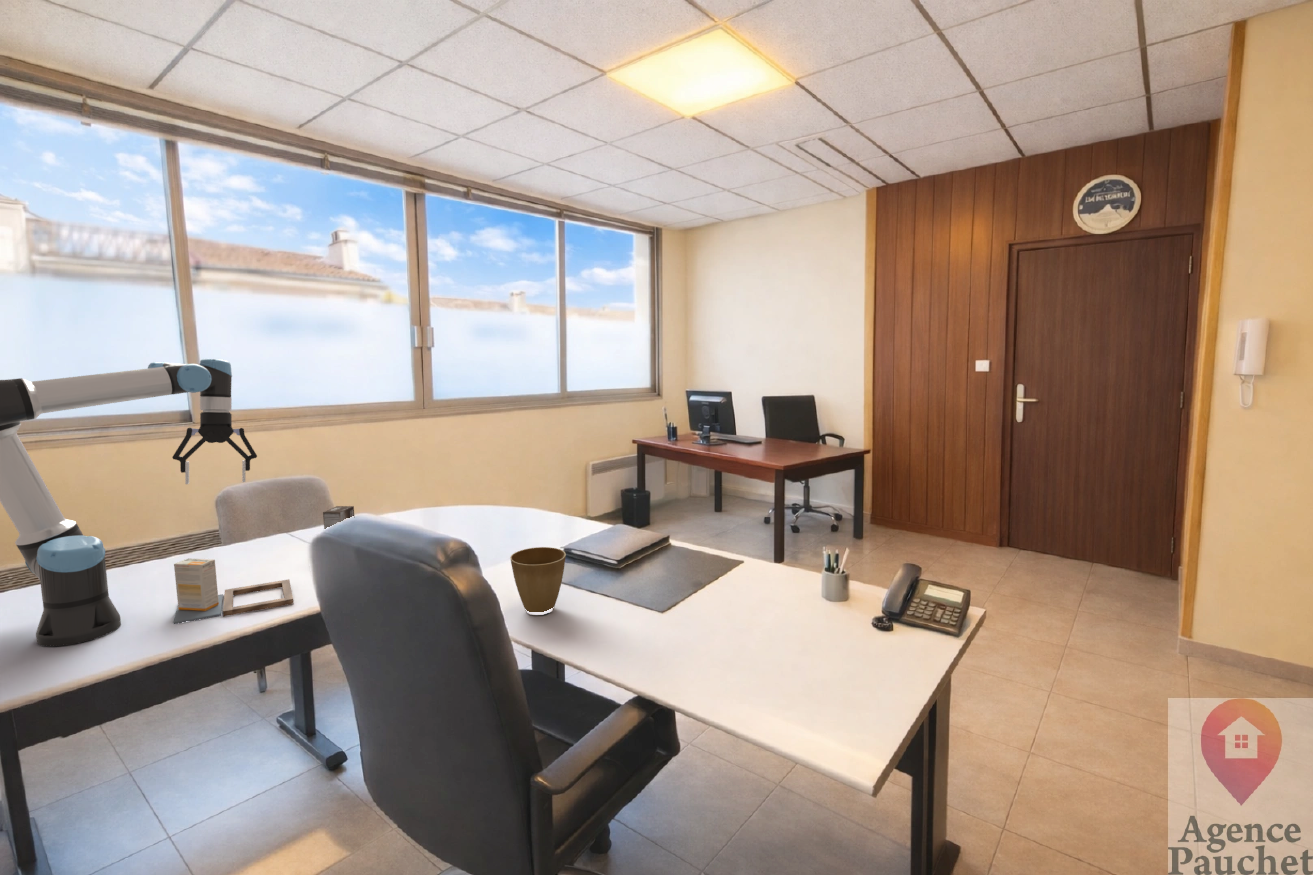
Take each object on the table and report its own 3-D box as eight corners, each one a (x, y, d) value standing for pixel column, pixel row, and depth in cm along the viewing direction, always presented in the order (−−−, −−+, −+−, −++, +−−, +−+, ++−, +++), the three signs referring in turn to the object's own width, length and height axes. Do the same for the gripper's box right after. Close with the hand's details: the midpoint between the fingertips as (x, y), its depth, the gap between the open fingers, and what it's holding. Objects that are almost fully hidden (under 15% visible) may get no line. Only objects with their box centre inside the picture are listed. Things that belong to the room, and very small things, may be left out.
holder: (223, 616, 159) (222, 611, 159) (225, 594, 174) (224, 589, 174) (293, 603, 168) (293, 598, 168) (289, 583, 183) (289, 579, 183)
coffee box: (339, 548, 217) (336, 505, 216) (356, 549, 217) (354, 505, 215) (325, 556, 208) (322, 511, 206) (343, 557, 208) (340, 512, 206)
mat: (173, 624, 154) (173, 622, 154) (178, 603, 167) (178, 601, 167) (221, 615, 160) (221, 613, 160) (222, 596, 173) (222, 594, 173)
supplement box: (220, 604, 165) (216, 558, 164) (205, 611, 161) (201, 564, 159) (192, 603, 166) (188, 557, 165) (177, 610, 161) (173, 563, 160)
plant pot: (533, 596, 176) (533, 543, 174) (576, 606, 169) (576, 551, 167) (499, 615, 163) (498, 558, 161) (544, 626, 156) (543, 567, 154)
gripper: (265, 412, 189) (265, 479, 189) (163, 410, 174) (163, 483, 175) (266, 412, 183) (266, 481, 183) (160, 410, 168) (160, 485, 169)
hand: (216, 482), depth 179 cm, fingers open, 13 cm apart
